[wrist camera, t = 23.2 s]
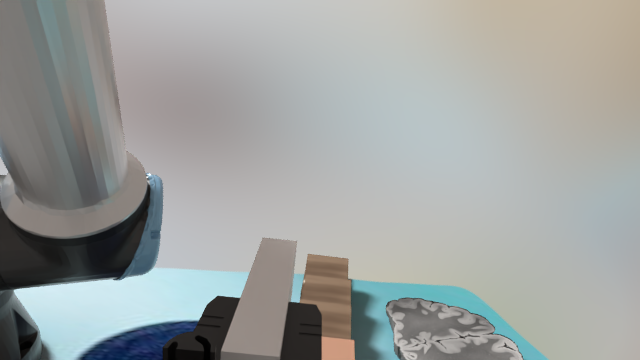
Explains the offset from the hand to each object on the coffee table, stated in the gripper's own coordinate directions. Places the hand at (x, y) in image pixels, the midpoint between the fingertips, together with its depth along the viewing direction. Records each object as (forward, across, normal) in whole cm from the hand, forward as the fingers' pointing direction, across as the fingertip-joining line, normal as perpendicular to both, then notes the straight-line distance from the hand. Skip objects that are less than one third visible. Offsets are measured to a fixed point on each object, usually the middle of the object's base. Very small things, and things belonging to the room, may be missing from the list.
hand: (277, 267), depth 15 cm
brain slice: (+26, +23, -27) cm, 44 cm away
